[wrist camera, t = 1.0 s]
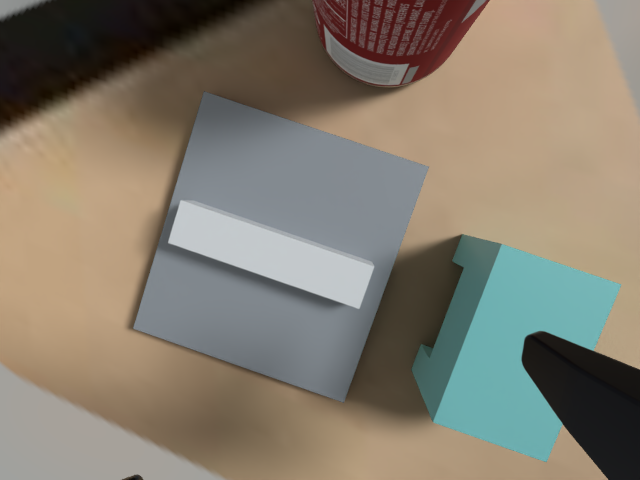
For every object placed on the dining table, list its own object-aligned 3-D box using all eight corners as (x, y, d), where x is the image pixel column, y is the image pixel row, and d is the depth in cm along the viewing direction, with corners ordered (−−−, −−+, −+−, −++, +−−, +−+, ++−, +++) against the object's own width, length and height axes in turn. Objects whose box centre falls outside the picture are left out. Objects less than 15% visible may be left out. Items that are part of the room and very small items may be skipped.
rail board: (425, 168, 20) (436, 163, 17) (343, 395, 21) (343, 418, 19) (209, 95, 20) (192, 81, 18) (141, 323, 21) (116, 338, 19)
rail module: (551, 264, 20) (621, 284, 15) (497, 399, 21) (546, 462, 16) (462, 234, 20) (501, 244, 15) (411, 369, 21) (433, 422, 16)
